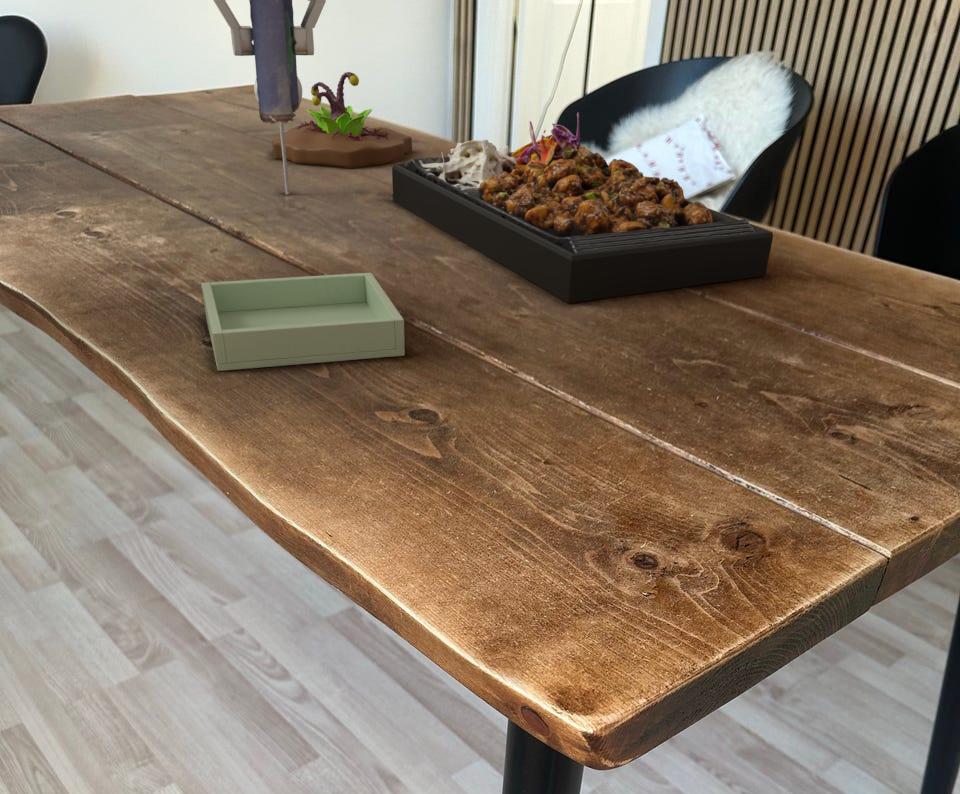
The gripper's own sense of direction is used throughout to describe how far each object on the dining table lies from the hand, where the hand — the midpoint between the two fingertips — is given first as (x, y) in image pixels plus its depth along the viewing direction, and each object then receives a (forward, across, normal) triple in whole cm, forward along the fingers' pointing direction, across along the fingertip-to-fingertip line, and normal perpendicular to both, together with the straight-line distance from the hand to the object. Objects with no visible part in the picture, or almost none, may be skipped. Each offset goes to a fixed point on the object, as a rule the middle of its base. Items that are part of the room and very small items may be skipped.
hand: (274, 54), depth 73 cm
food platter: (+22, +35, +27) cm, 49 cm away
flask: (+4, 0, +1) cm, 4 cm away
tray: (+21, 0, -1) cm, 21 cm away
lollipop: (+22, +6, +53) cm, 58 cm away
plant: (+22, +18, +78) cm, 83 cm away
